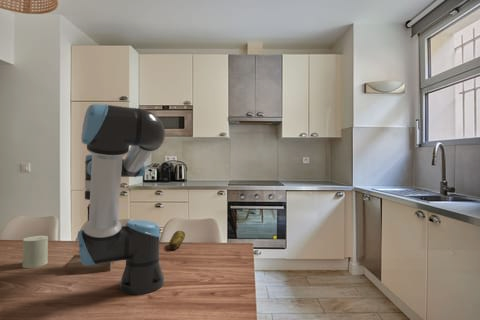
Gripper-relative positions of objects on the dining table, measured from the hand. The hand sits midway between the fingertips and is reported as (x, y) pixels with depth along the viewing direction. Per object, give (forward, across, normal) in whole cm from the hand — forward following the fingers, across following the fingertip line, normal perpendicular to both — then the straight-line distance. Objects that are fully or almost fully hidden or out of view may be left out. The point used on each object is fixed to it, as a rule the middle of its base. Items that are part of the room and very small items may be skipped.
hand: (93, 243), depth 124 cm
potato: (+10, +20, -36) cm, 42 cm away
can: (+10, +8, +25) cm, 28 cm away
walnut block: (+10, 0, 0) cm, 10 cm away
